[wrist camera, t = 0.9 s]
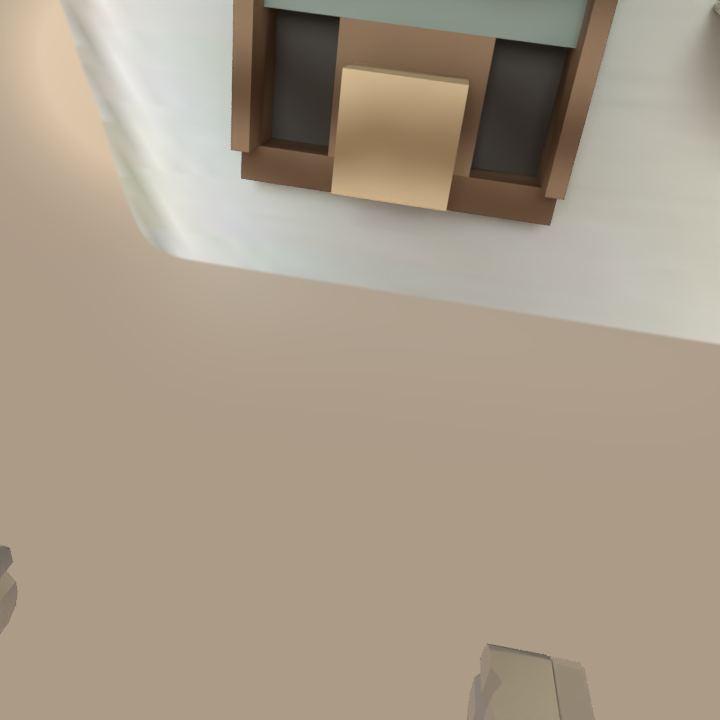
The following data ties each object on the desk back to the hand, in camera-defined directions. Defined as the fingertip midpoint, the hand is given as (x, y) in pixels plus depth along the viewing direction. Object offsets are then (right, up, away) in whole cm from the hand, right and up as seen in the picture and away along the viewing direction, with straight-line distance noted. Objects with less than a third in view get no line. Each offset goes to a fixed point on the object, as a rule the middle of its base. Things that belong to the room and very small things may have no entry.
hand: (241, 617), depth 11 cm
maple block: (+4, +17, +25) cm, 30 cm away
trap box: (+5, +22, +25) cm, 34 cm away
